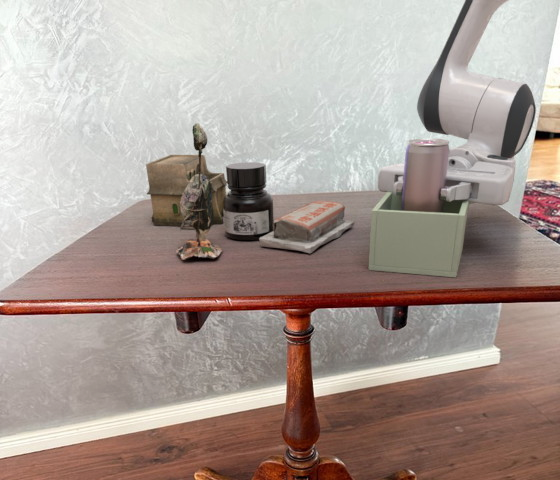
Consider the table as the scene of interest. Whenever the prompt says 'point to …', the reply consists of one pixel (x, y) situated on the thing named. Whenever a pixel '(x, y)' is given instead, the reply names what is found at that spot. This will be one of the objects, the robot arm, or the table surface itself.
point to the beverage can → (424, 175)
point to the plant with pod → (198, 207)
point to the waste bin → (417, 238)
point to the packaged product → (308, 227)
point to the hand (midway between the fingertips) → (420, 192)
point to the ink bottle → (247, 202)
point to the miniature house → (180, 188)
